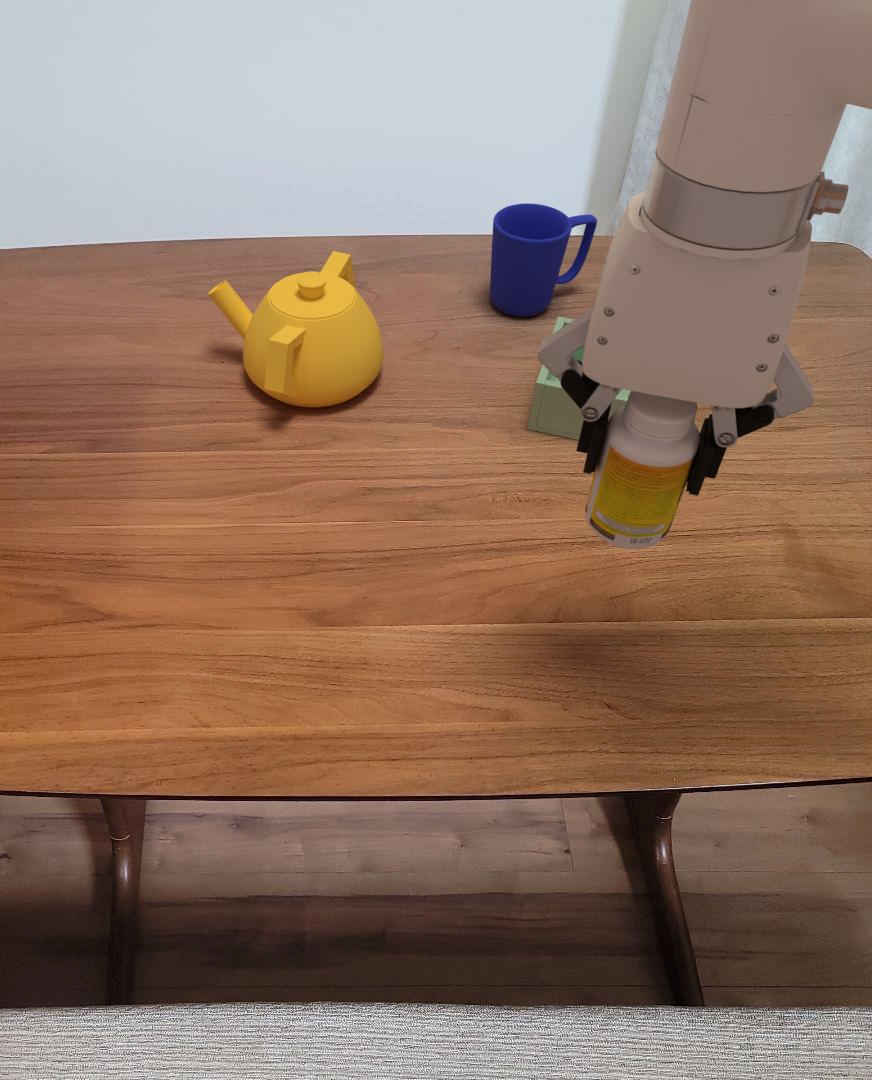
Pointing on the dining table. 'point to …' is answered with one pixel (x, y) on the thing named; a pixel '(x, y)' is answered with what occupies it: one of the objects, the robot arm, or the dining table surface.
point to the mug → (532, 256)
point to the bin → (561, 401)
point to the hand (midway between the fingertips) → (642, 467)
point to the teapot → (308, 336)
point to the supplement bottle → (642, 470)
